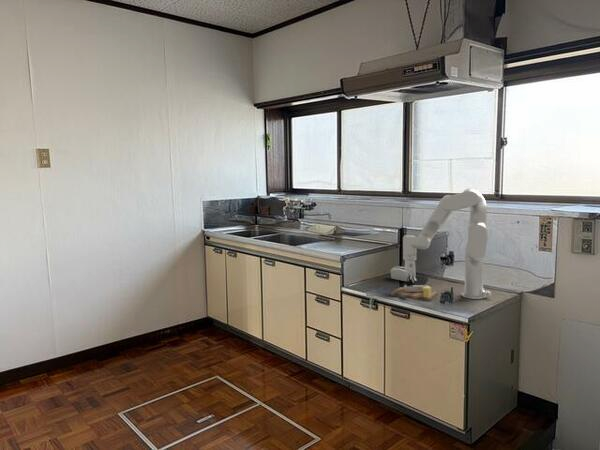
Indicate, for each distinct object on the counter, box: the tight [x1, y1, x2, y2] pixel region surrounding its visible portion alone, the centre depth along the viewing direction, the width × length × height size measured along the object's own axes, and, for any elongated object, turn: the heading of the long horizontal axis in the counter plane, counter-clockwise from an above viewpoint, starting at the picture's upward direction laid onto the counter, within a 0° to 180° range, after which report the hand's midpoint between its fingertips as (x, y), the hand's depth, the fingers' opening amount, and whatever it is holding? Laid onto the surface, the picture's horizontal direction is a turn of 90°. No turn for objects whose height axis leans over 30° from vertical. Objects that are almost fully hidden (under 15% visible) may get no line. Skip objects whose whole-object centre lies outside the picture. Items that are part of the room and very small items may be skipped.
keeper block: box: [423, 285, 432, 298], centre depth 253 cm, size 3×4×5 cm
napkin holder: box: [390, 266, 418, 283], centre depth 293 cm, size 17×5×10 cm, turn 42°
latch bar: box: [403, 284, 430, 292], centre depth 262 cm, size 14×3×3 cm, turn 86°
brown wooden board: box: [390, 286, 440, 302], centre depth 261 cm, size 23×14×2 cm, turn 55°
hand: (409, 287), depth 265 cm, fingers closed
